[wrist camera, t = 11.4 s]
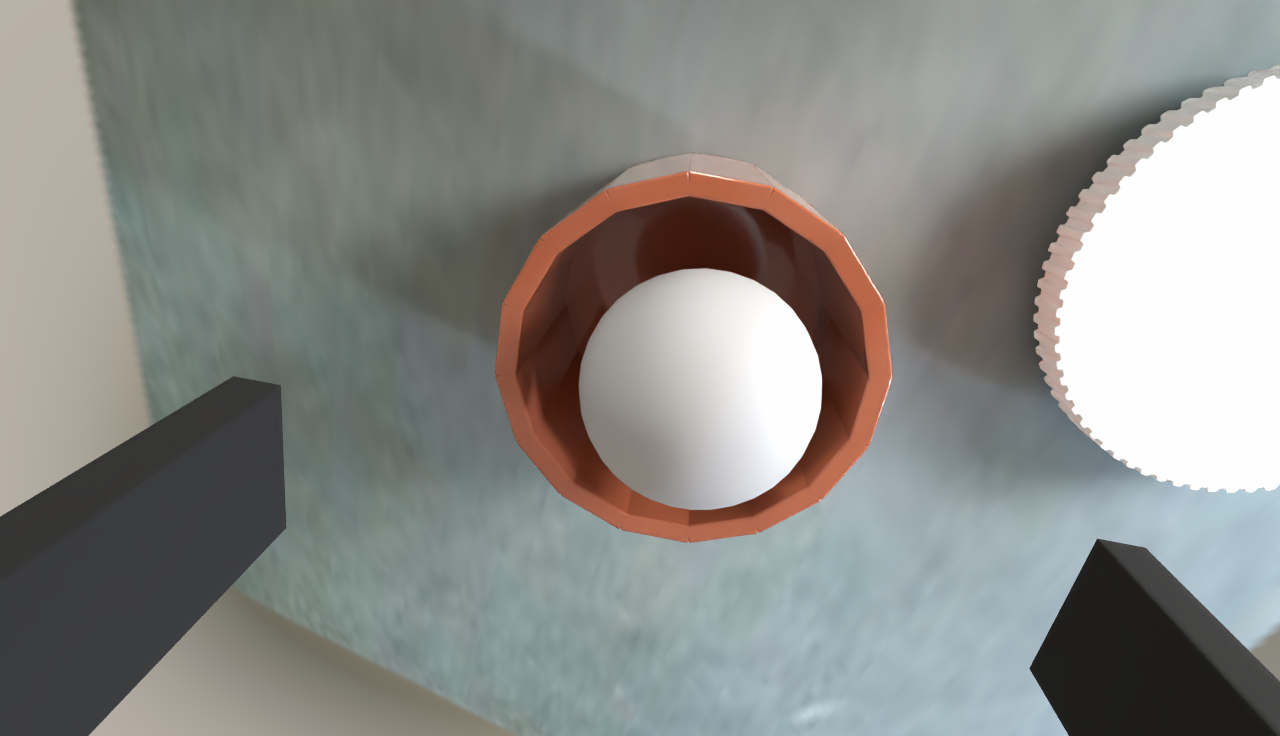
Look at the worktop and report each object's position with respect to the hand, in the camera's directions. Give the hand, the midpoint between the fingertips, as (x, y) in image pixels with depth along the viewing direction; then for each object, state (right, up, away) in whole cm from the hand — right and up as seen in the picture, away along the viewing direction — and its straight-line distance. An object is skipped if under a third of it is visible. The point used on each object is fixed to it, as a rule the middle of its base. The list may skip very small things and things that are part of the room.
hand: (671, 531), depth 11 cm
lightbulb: (+2, +5, +14) cm, 15 cm away
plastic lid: (+20, +6, +13) cm, 25 cm away
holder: (+1, +5, +14) cm, 15 cm away
